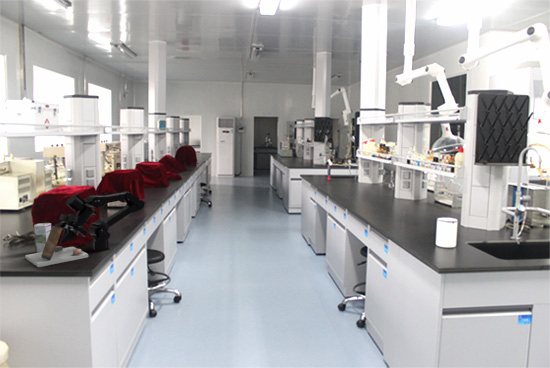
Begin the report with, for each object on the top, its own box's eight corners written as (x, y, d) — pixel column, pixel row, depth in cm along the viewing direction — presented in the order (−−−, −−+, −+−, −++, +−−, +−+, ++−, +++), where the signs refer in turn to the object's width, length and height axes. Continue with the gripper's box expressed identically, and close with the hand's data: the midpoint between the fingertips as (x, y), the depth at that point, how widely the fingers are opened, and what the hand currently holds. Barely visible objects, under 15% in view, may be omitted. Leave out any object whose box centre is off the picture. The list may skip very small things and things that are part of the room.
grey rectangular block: (59, 249, 207) (59, 246, 207) (62, 250, 205) (63, 247, 205) (50, 249, 203) (50, 246, 203) (53, 250, 201) (53, 247, 201)
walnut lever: (45, 258, 193) (57, 223, 197) (51, 260, 189) (64, 225, 193) (39, 257, 191) (52, 222, 195) (46, 259, 187) (59, 223, 191)
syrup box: (53, 250, 212) (51, 222, 210) (47, 253, 206) (45, 225, 204) (41, 250, 212) (39, 222, 210) (35, 253, 206) (33, 225, 204)
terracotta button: (79, 252, 201) (79, 248, 200) (82, 253, 198) (82, 249, 198) (71, 253, 198) (71, 249, 198) (74, 255, 196) (74, 251, 195)
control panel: (73, 249, 213) (73, 245, 213) (88, 257, 199) (88, 252, 199) (25, 258, 198) (25, 254, 197) (37, 267, 184) (37, 262, 183)
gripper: (60, 205, 203) (38, 231, 196) (79, 209, 192) (57, 236, 185) (77, 218, 210) (56, 244, 203) (96, 222, 199) (75, 250, 192)
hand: (60, 243), depth 195 cm, fingers closed
